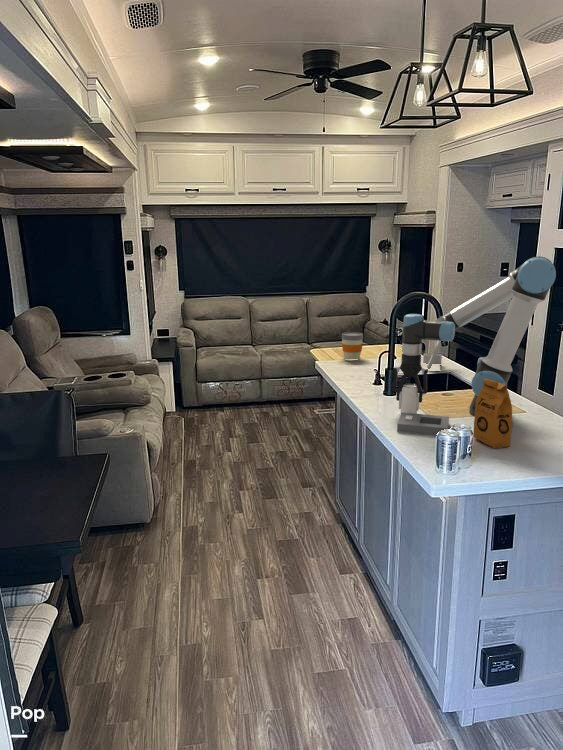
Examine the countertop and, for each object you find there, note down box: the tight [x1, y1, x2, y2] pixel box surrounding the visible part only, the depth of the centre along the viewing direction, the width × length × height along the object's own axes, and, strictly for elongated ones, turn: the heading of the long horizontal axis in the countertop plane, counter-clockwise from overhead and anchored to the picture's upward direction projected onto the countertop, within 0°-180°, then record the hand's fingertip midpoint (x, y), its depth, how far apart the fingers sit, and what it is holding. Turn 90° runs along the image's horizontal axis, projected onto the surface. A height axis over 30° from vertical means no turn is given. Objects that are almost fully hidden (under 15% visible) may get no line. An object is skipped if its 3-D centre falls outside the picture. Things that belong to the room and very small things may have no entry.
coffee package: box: [472, 379, 513, 449], centre depth 192 cm, size 10×12×22 cm
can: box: [400, 383, 419, 414], centre depth 225 cm, size 6×6×12 cm
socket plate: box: [396, 412, 450, 436], centre depth 210 cm, size 18×14×4 cm
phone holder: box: [422, 340, 443, 369], centre depth 300 cm, size 17×10×18 cm, turn 164°
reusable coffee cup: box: [341, 331, 364, 360], centre depth 324 cm, size 13×13×15 cm
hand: (408, 408), depth 226 cm, fingers closed on can, 6 cm apart
